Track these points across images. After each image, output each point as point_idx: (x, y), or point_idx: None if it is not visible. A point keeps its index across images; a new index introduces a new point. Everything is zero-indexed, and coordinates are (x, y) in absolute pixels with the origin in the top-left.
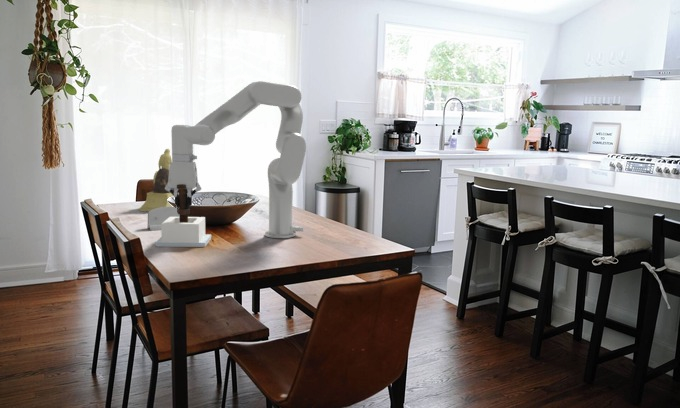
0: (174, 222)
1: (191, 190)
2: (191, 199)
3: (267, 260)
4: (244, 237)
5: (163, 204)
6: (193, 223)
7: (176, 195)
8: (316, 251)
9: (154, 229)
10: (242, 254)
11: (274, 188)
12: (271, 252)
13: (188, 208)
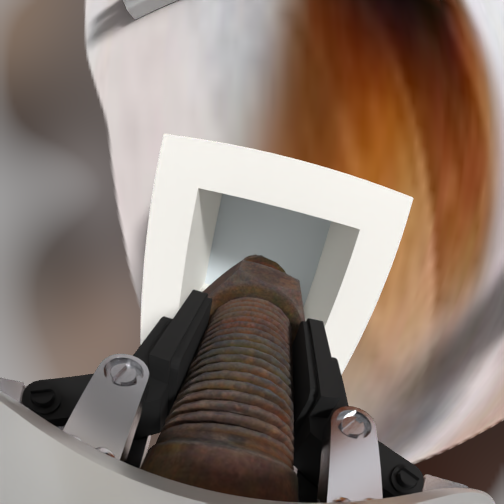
0: (202, 204)
1: (362, 490)
2: (337, 403)
3: (423, 438)
4: (491, 216)
5: None
6: None
7: (146, 438)
8: None
9: (146, 11)
10: (406, 409)
11: None
12: (464, 393)
13: (297, 329)
